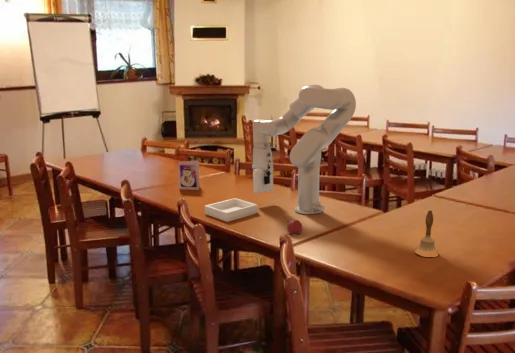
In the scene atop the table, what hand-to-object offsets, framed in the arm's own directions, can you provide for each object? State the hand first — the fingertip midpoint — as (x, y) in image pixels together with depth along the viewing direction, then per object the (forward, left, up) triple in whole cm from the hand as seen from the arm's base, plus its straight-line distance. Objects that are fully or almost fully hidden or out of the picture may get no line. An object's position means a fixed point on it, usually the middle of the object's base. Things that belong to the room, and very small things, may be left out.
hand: (263, 182), depth 245 cm
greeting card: (+51, +7, -11) cm, 52 cm away
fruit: (-39, +20, -11) cm, 45 cm away
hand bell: (-88, +2, -11) cm, 89 cm away
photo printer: (0, 0, -5) cm, 5 cm away
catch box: (-1, +21, -10) cm, 24 cm away
